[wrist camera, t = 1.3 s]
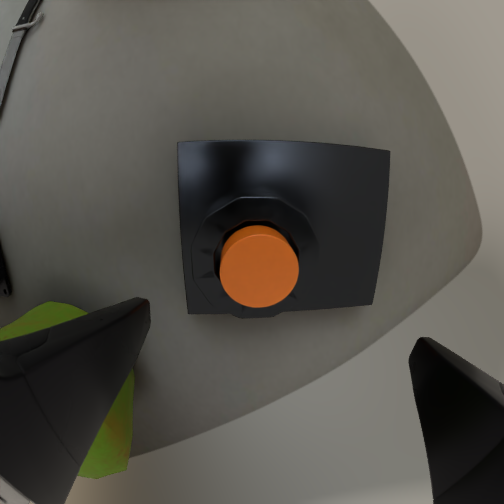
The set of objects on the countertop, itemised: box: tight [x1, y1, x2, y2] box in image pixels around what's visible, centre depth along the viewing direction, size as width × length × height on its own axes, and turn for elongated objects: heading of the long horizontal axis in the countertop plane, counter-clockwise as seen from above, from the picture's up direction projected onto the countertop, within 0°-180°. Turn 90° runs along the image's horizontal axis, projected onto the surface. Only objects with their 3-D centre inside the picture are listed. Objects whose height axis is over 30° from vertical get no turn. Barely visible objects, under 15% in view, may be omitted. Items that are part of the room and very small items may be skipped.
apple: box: [0, 301, 135, 479], centre depth 14 cm, size 12×12×11 cm
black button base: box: [177, 140, 390, 318], centre depth 16 cm, size 12×10×4 cm
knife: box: [0, 0, 43, 106], centre depth 11 cm, size 15×1×3 cm
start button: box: [220, 225, 299, 308], centre depth 14 cm, size 4×4×2 cm
